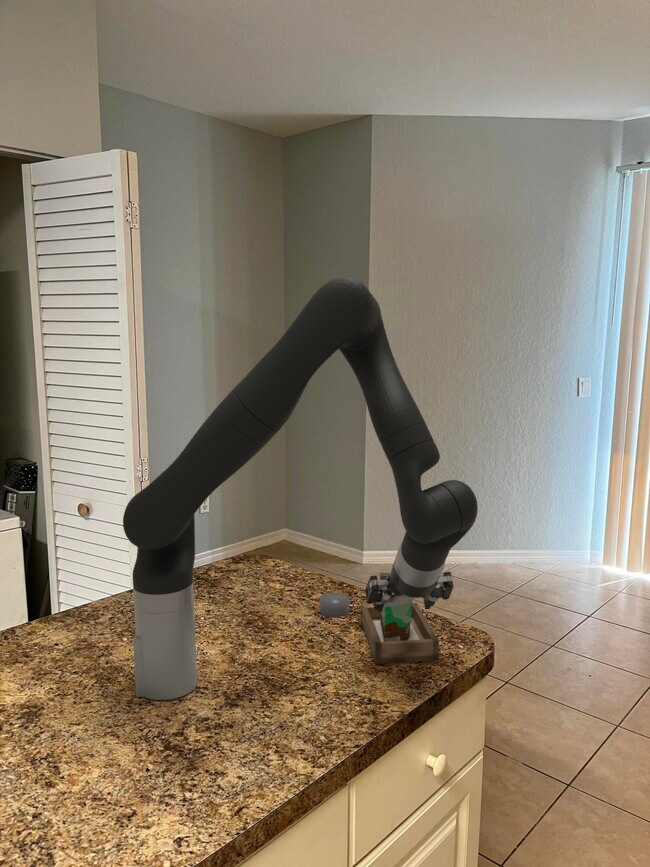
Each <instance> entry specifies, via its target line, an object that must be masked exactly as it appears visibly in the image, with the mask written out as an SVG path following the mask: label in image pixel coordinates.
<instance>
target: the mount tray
mask: <svg viewBox="0 0 650 867" xmlns="http://www.w3.org/2000/svg"><path fill="white" fill-rule="evenodd" d="M360 622H361V623H360V624H361V626H362V629H363V632H364V635H365V637H366V641H367V643H368V646H369V649H370V652H371V654H372V657H373V660H374V663H375V665H380V664H381V665H383V664H385V665H386V664H398V663H417V662H434V661H439V659H440V640H439V638H438V637H437V636H436V634H435V632H434V630H433V628H432V627H431V625H430V623H429V622H428V620H427V619H426V617H425V615H424V613H423V612H422V609H421V607H420V606H419V605H418V603H417V602H414V603H413V602H412V612H411V624H410V637H409V639H408V640H405V641H386V642H384V641H383V636H382V631H381V625H380V612H377V610H375V609H374V604H369V605H361V606H360Z"/></svg>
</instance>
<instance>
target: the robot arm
mask: <svg viewBox="0 0 650 867" xmlns="http://www.w3.org/2000/svg"><path fill="white" fill-rule="evenodd" d="M338 350H339V351H340V352H341V354H342V356H343V357H344V358H345V359H346V361H347V362H348V364H349V366H350V368H351V369H352V371H353V373H354V375H355V377H356V379H357V381H358V383H359V386H360V388H361V391H362V393H363V397H364V399H365V400H364V401H365V403H366V407H367V411H368V413H369V418H370V421H371V423H372V426H373V429H374V432H375V434H376V436H377V438H378V441H379V444H380V446H381V448H382V450H383V453H384V454H385V457H386V459H387V461H388V463H389V465H390V467H391V471H392V474H393V477H394V479H393V480H394V481H395V482H394V483H395V487H396V491H397V498H398V504H399V506H398V507H399V510H400V511H399V513H400V518H401V522H402V524H403V527H404V530H405V533H404V537H403V539H402V542H401V544H400V545H399V547H398V550H397V552H396V555H395V558H394V561H393V564H392V568H391V570H390V573H391V575H390V576H389V577H387V578H386V580H380V578H378V576H377V575H371V576H369V579H368V581H367V584H366V586H365V589H364V593H365V598H366V604H367V605H374V609H375V610H377V612H382V610H383V607H384V603H386V602H394V601H396V600H398V599H400V598H405V597H407V596H408V597H412V598H415V599H419V598H422V599H423V603H424V609H425V610H430V609H431V607H434V605H435V604H436V602H438V601H439V599H442V600H445V601H446V600H448V599H450V597H451V594H452V592H453V589H454V582H453V577H452V573H451V571H444V568H445V566H446V560H447V558H448V556H449V554H450V550H452V548H453V547H455V546H456V545H457V543H459V541H461V540H462V539H463V537H465V536H466V534H467V533H468V532H469V531H470V530H471V528H473V527H474V524H475V522H476V520H477V515H478V506H479V505H478V501H477V497H476V495H475V492H474V491H473V489H472V488H471V487H470V486H469V485H468V484H466V483H465V482H463V481H461V480H457V479H449V480H445V481H443V482H440V483H437V484H436V485H433V486H430V487H428V488H425V489H422V485H421V484H422V481H421V480H422V476H423V474H425V473H426V472H428V471H429V470H431V469H432V468H434V467H435V466H436V465H437V464H438V463H439V461H440V454H441V453H440V452H439V449H438V447H437V446H438V445H436V443H435V441H434V438H433V436H432V433H431V432H430V429H429V427H428V425H427V424H426V421H425V419H424V417H423V414H422V413H421V412H420V409H419V407H418V405H417V403H416V401H415V399H414V397H413V396H412V394H411V392H410V390H409V388H408V386H407V383H406V382H405V380H404V378H403V376H402V374H401V372H400V370H399V367H398V365H397V362H396V360H395V357H394V355H393V352H392V349H391V346H390V343H389V339H388V336H387V333H386V328H385V324H384V320H383V317H382V312H381V307H380V304H379V303H378V301H377V298H375V297H374V295H373V294H372V293H371V291H370V290H369V288H368V287H367V286H366V285H365V284H364V283H363V282H361V281H360V280H358V278H354V277H351V276H339V277H335V278H332V279H330V280H328V281H327V282H325V283H324V284H323V285H321V286H320V287H319V288H318V289H317V290H316V292H315V293H314V294H312V296H311V297H310V299H309V300H308V302H307V303H306V304H305V306H304V307H303V308H302V310H301V311H300V313H299V314H298V315H297V317H296V318H295V319H294V321H293V322H291V324H290V326H289V327H288V329H287V330H286V331H285V333H283V335H282V336H281V338H279V340H278V341H277V342H276V343H275V344H274V345H273V346H272V348H270V350H269V351H268V352H267V353H266V354H265V355H264V356H263V357H262V358H261V359H260V360H259V361H258V362H257V363H256V365H254V367H253V368H251V370H250V371H249V372H248V373H247V374H246V375H245V376H244V377H243V378H242V380H240V381H239V382H238V383H237V384H236V386H234V387H233V389H232V390H231V391H230V392H229V393H228V394H227V395H226V396H225V397H224V398H223V400H222V401H221V402H220V403H219V404H218V405H217V406H216V407H215V409H213V411H212V412H211V414H210V415H209V416H207V418H206V419H205V420H204V422H203V423H202V424H201V425H200V427H199V428H198V429H197V431H196V432H195V433H194V435H193V436H192V437H191V439H190V440H189V442H188V443H187V444H186V446H185V447H184V448H183V450H182V451H181V452H180V454H179V455H178V456H177V457H175V458H176V459H175V460H174V461H173V462H172V463H170V465H169V466H168V467H167V468H166V469H164V471H162V473H160V474H159V475H158V476H157V477H156V478H154V480H153V481H151V482H150V483H149V484H148V485H147V486H145V487H143V489H142V490H140V491H139V492H137V493H136V494H135V495H134V496H132V497H131V499H130V500H129V502H128V503H127V505H126V506H125V510H124V512H123V518H122V527H123V532H124V534H125V537H126V538H127V540H128V541H129V542H130V543H131V544H132V545H133V546H135V547H137V554H136V559H135V563H134V566H133V568H132V569H133V570H132V588H133V589H132V590H133V591H132V592H133V607H134V608H133V609H134V624H135V625H134V626H135V627H134V628H135V634H134V637H133V638H132V639H133V640H132V646H133V664H134V666H133V667H134V680H135V682H134V683H135V685H134V686H135V697H136V698H140V697H142V698H147V699H149V700H153V701H168V700H174V699H175V700H176V699H177V698H178V699H179V698H181V697H184V696H186V695H188V694H189V693H191V692H192V691H194V690H195V688H197V684H198V669H197V668H198V667H197V645H196V644H197V643H196V642H197V641H196V625H195V624H196V623H195V622H196V621H195V620H196V619H195V600H194V599H195V597H194V596H195V595H194V567H195V559H196V534H195V533H196V532H195V531H196V526H195V524H196V523H195V521H196V520H195V514H196V512H197V511H198V510H199V508H200V507H201V506H202V505H203V504H204V503H205V501H206V500H207V499H208V498H209V496H211V495H212V493H214V491H215V490H217V489H218V488H219V487H220V486H221V485H222V484H223V483H225V482H226V481H227V480H229V479H230V477H232V476H233V475H235V474H236V473H237V472H238V471H239V470H240V469H241V468H243V466H245V465H246V464H247V463H248V462H249V461H250V460H251V459H252V458H254V457H255V456H256V455H257V454H258V453H259V452H260V451H261V450H262V449H263V448H264V447H265V446H266V445H267V444H268V443H269V442H270V441H271V440H272V439H273V438H274V436H276V434H277V433H278V432H279V431H281V429H282V428H283V426H285V424H286V423H287V422H288V419H290V417H291V415H292V414H293V413H294V410H295V409H296V406H297V405H298V403H299V401H300V399H301V398H302V395H303V393H304V391H305V390H306V387H307V385H308V383H309V382H310V381H311V379H312V377H313V376H314V375H315V373H316V372H317V371H318V370H319V368H321V367H322V365H323V364H324V363H326V362H327V361H328V360H329V358H331V357H332V356H333V355H334V354H335V353H336V352H337V351H338ZM443 571H444V572H443ZM442 573H443V575H442ZM438 585H439V586H438ZM437 586H438V587H437ZM383 592H384V594H385V596H384V597H383ZM392 593H394V595H393V594H392Z"/></svg>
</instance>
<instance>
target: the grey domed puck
mask: <svg viewBox="0 0 650 867" xmlns="http://www.w3.org/2000/svg"><path fill="white" fill-rule="evenodd" d="M319 613H320V614H321V615H322V616H324V617H328V618H341V617H345V616H346V615H348V614H350V597H349V595H348V594H346V593H343V592H336V591H335V592H334V591H333V592H332V591H331V592H326V593H324V594H321V595H320V596H319Z"/></svg>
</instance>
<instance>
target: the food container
mask: <svg viewBox="0 0 650 867" xmlns="http://www.w3.org/2000/svg"><path fill="white" fill-rule="evenodd" d="M390 575H391V572H383V571H381V572H380V571H379V580H386V578H387V577H389V576H390ZM392 594H393V595H394V593H392ZM384 596H385V594H384V592H383V597H384ZM415 599H416V598H412V597H408V596H407V597H405V598H400V599H398V600H396V601H394V602H386V603H384V607H383V610H382V612H380V625H381V631H382V636H383V641H384V642H386V641H405V640H408V639H409V637H410V624H411V612H412V603H413V601H414V600H415Z"/></svg>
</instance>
